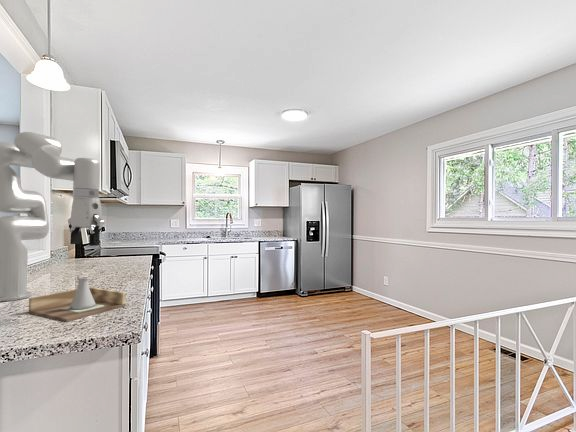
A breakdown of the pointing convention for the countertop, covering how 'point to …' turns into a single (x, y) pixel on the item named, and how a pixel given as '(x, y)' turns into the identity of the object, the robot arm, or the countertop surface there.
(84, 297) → the flask
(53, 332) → the countertop surface
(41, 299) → the tray
